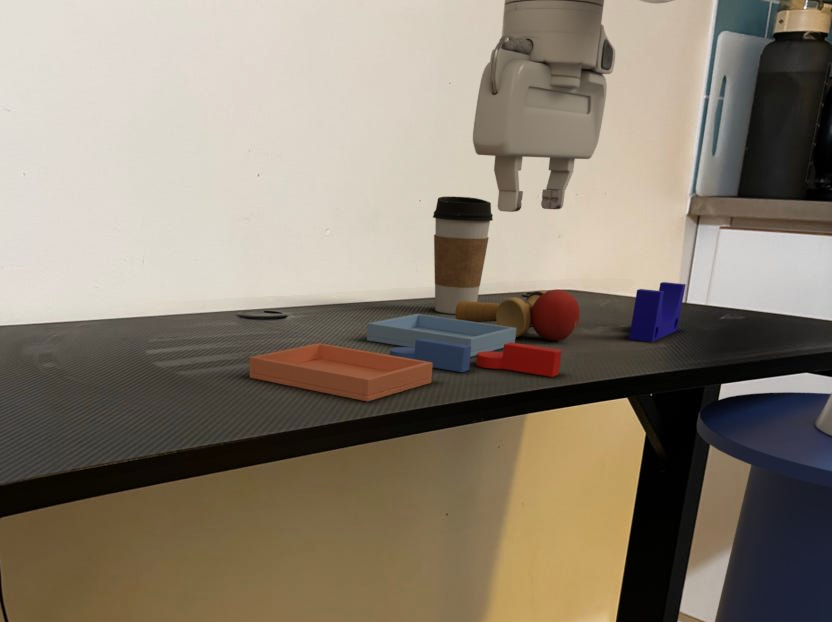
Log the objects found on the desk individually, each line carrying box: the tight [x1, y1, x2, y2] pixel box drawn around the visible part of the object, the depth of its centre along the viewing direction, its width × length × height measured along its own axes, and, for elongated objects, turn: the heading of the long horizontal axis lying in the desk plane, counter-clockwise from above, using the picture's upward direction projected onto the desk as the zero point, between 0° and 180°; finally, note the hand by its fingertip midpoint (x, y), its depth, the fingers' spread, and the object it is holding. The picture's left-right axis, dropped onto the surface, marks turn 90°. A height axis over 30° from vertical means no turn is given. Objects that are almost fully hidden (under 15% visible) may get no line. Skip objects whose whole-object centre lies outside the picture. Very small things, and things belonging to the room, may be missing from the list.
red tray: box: [249, 342, 433, 402], centre depth 95 cm, size 14×11×2 cm
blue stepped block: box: [389, 338, 471, 373], centre depth 103 cm, size 9×4×3 cm, turn 54°
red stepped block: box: [475, 342, 563, 378], centre depth 103 cm, size 9×4×3 cm, turn 54°
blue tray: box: [366, 313, 517, 358], centre depth 116 cm, size 14×11×2 cm
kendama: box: [454, 289, 581, 342], centre depth 123 cm, size 8×6×18 cm
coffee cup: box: [432, 196, 494, 315], centre depth 137 cm, size 8×8×15 cm
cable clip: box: [628, 281, 686, 343], centre depth 127 cm, size 12×4×6 cm, turn 148°
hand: (531, 210), depth 94 cm, fingers open, 8 cm apart
